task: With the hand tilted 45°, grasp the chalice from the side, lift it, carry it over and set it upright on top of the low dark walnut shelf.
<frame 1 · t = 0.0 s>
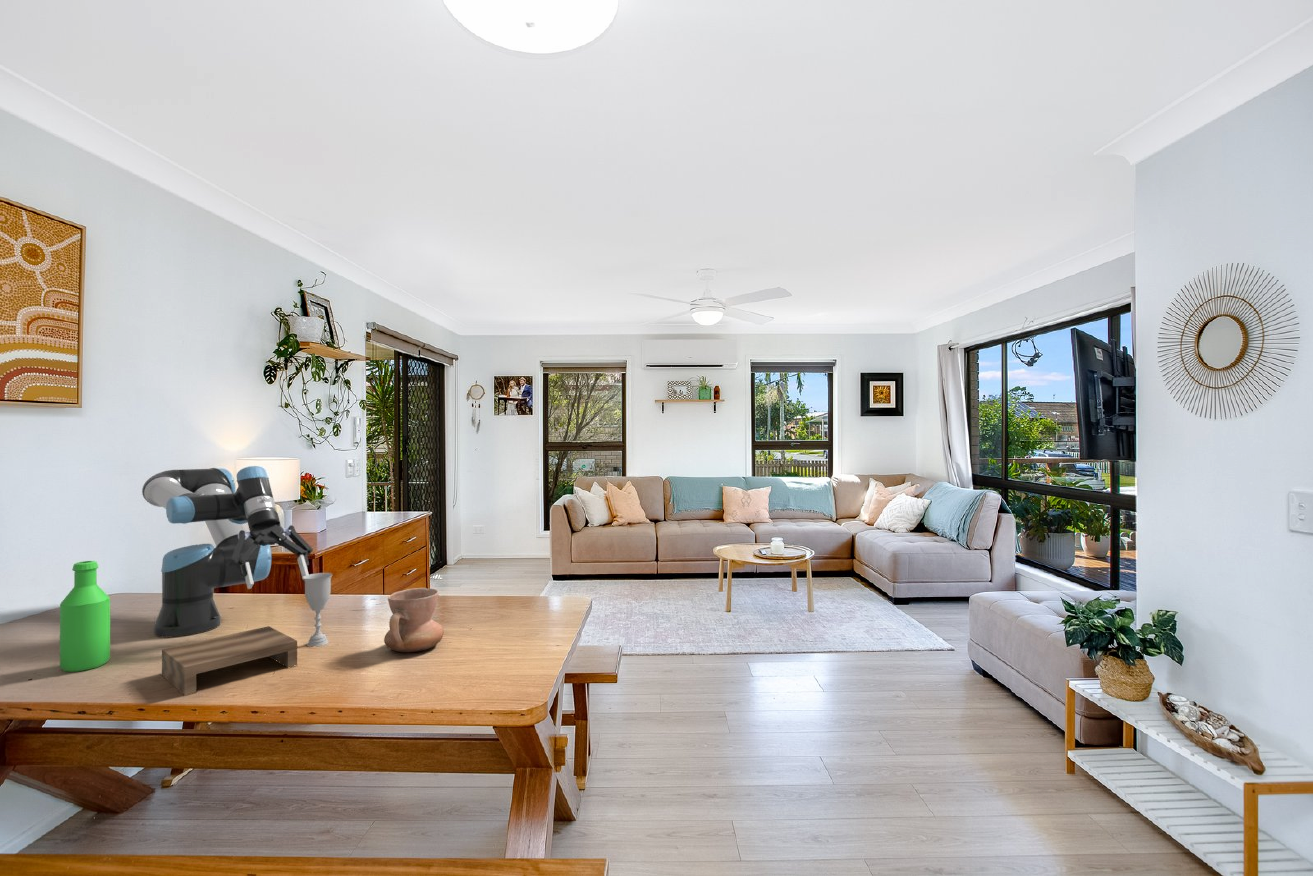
hand: (279, 581, 168), 15 cm above the table, tool tilted 35°, fingers open, 13 cm apart
walnut shelf: (230, 670, 144), on the table
chalice: (317, 644, 163), on the table
ceramic jug: (412, 648, 159), on the table
bottle: (85, 667, 147), on the table
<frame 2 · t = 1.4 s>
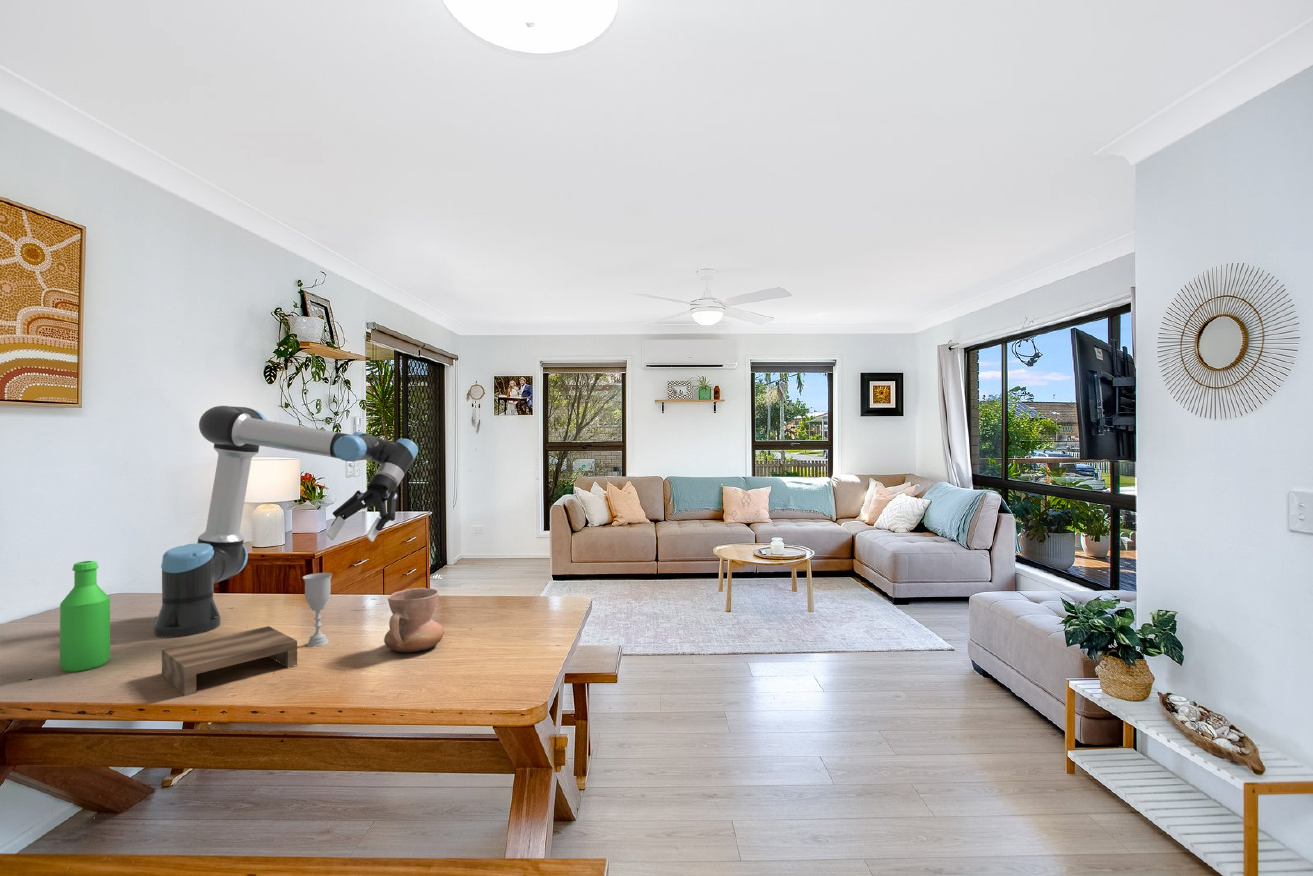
hand: (349, 538, 173), 26 cm above the table, tool tilted 45°, fingers open, 13 cm apart
nothing on the table moved.
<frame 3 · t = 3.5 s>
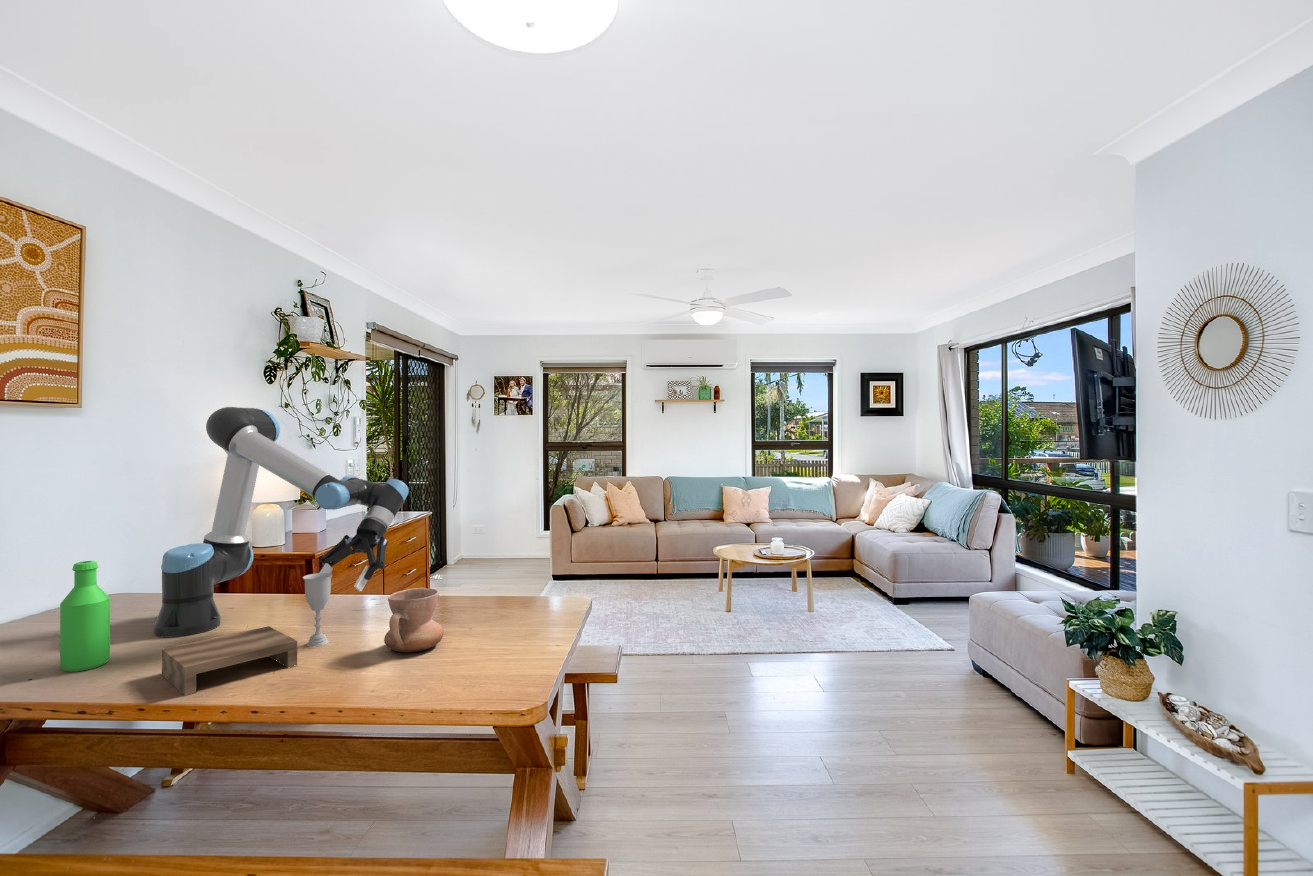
hand: (336, 587, 168), 14 cm above the table, tool tilted 45°, fingers open, 13 cm apart
nothing on the table moved.
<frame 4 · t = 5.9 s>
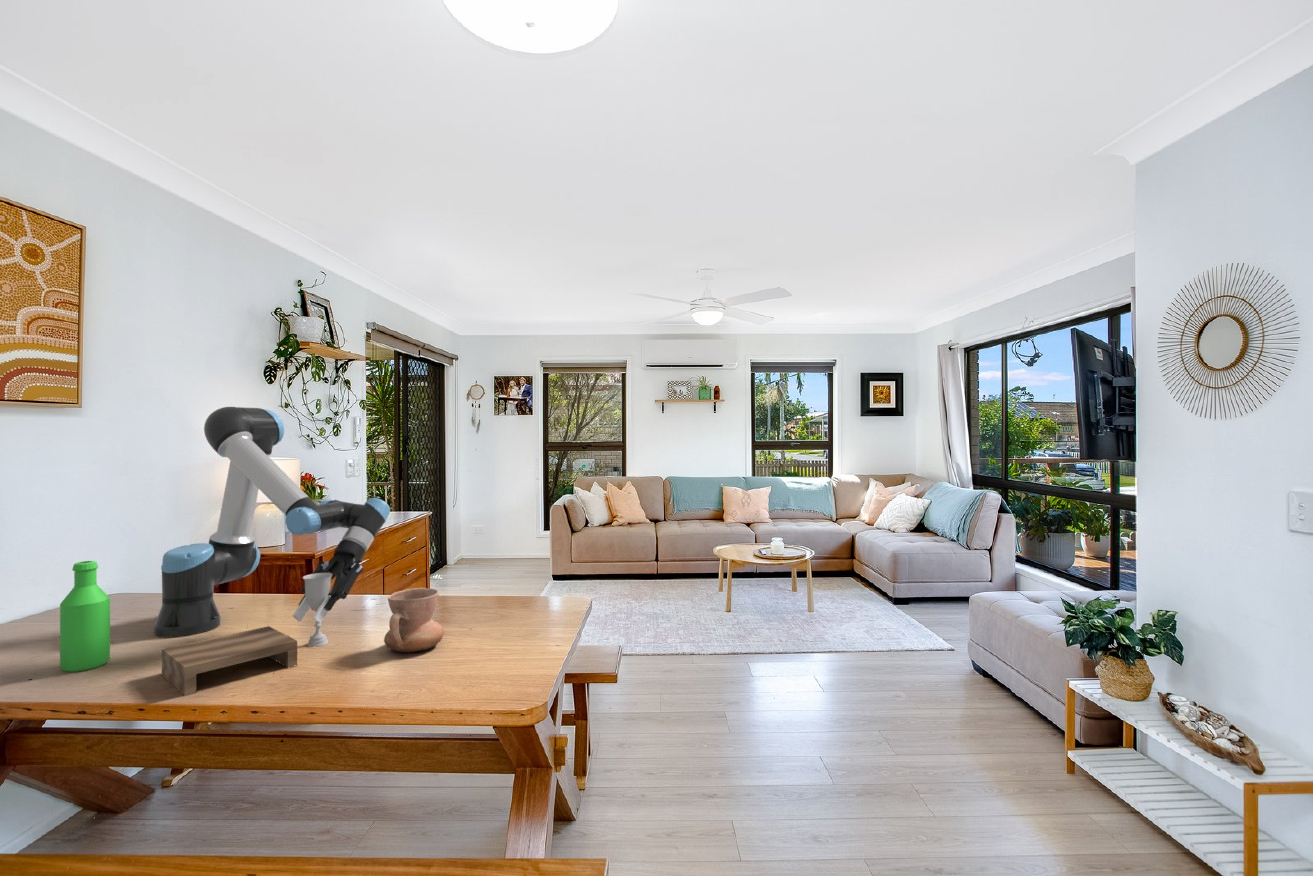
hand: (306, 619, 159), 7 cm above the table, tool tilted 45°, fingers closed on chalice, 6 cm apart
chalice: (317, 644, 163), on the table, touching gripper
everything else where it was.
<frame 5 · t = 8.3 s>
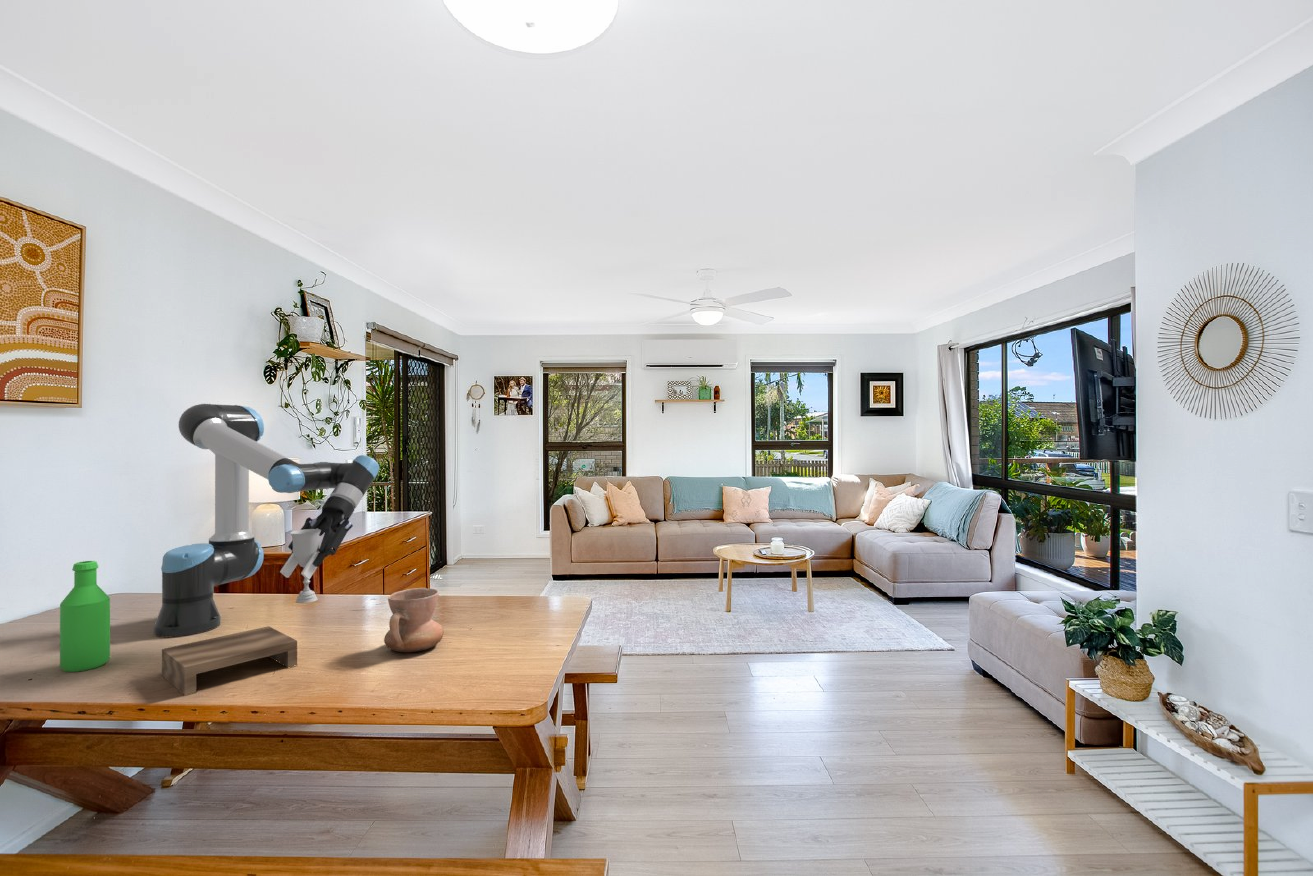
hand: (294, 575, 155), 20 cm above the table, tool tilted 45°, fingers closed on chalice, 6 cm apart
chalice: (306, 601, 159), point 12 cm above the table, touching gripper
everything else where it was.
when the fingers open (14 cm above the table, at t = 11.0 s): chalice stays where it is, resting on walnut shelf.
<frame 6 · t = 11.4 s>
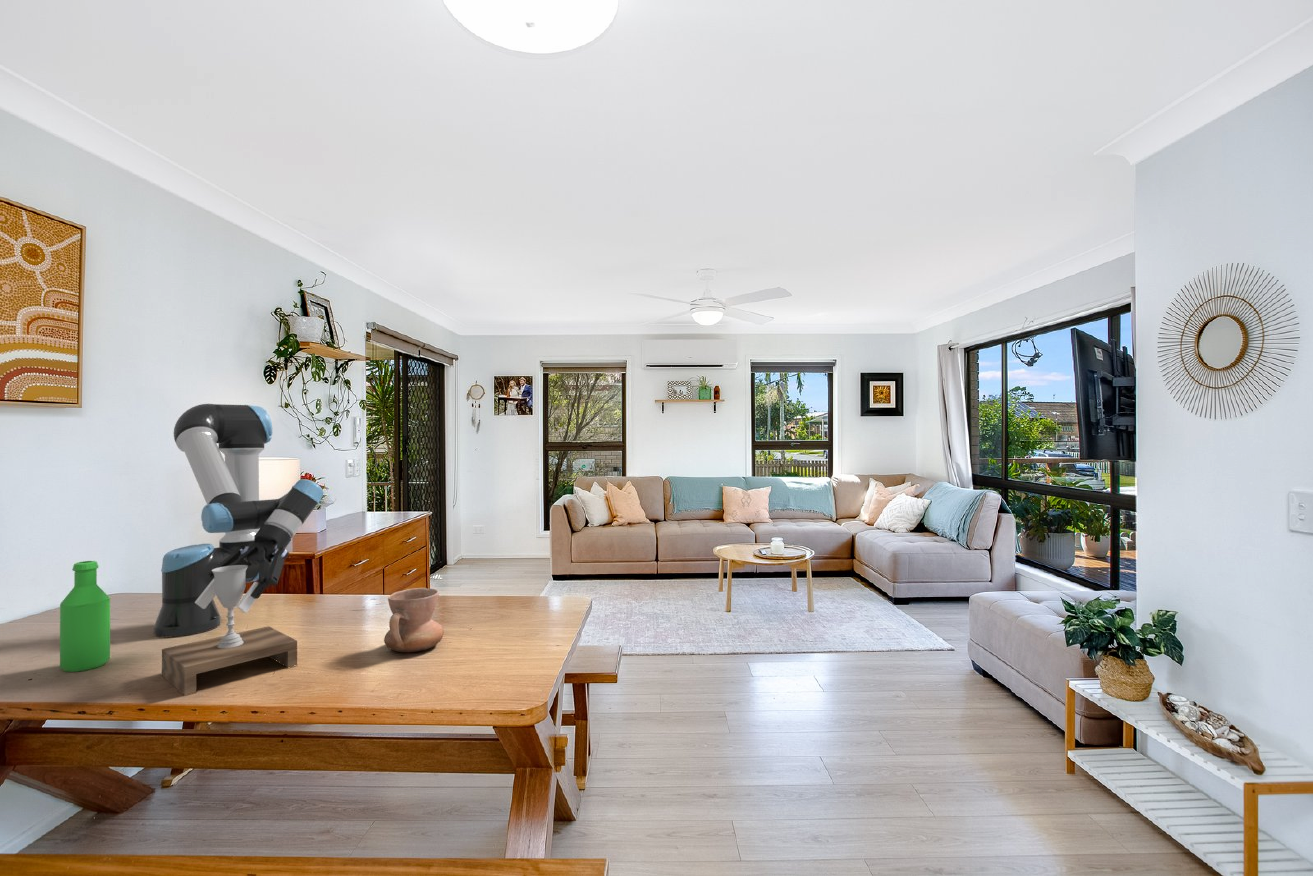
hand: (220, 607, 142), 15 cm above the table, tool tilted 45°, fingers open, 12 cm apart
chalice: (230, 645, 144), point 6 cm above the table, touching walnut shelf
everything else where it was.
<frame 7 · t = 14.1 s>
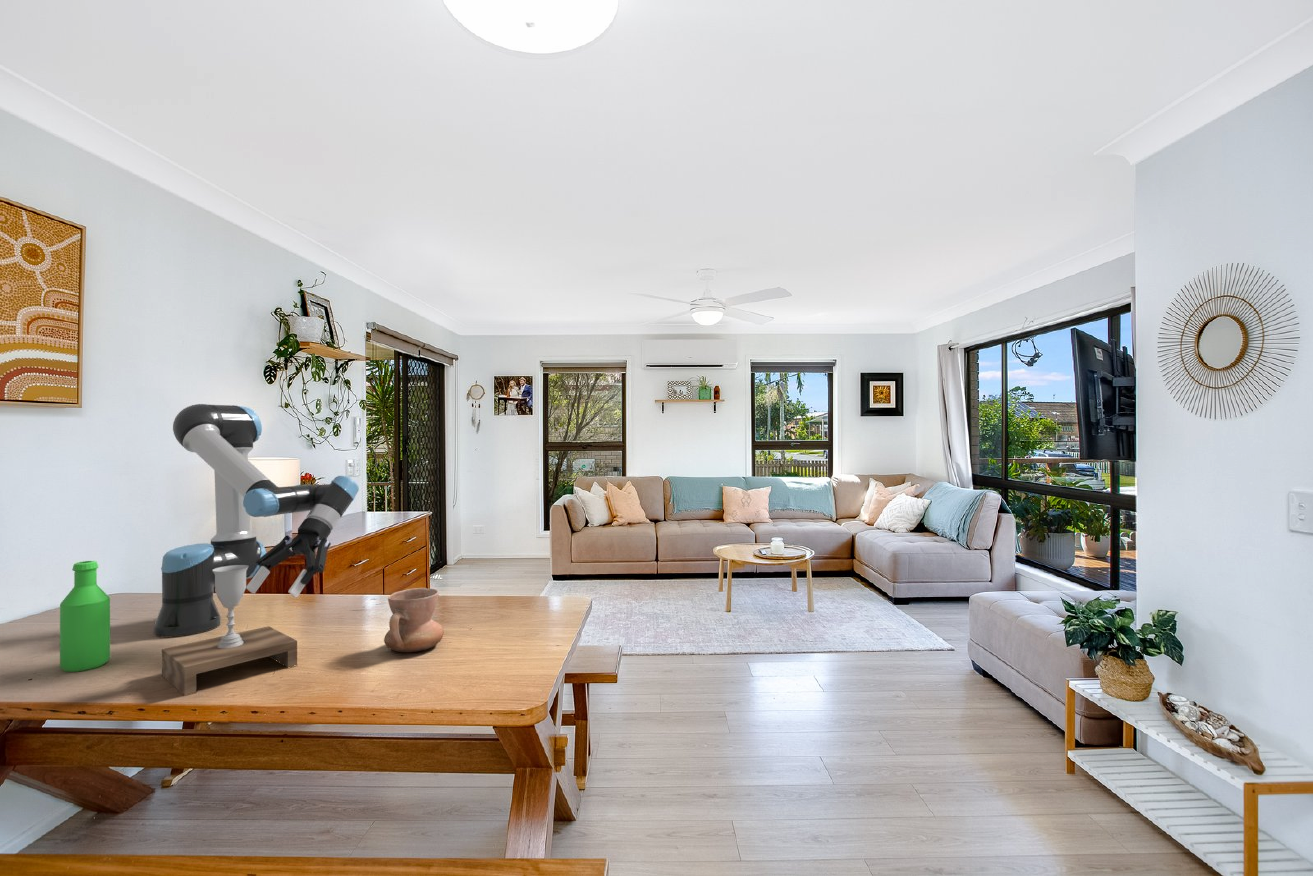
hand: (270, 592, 154), 16 cm above the table, tool tilted 45°, fingers open, 13 cm apart
nothing on the table moved.
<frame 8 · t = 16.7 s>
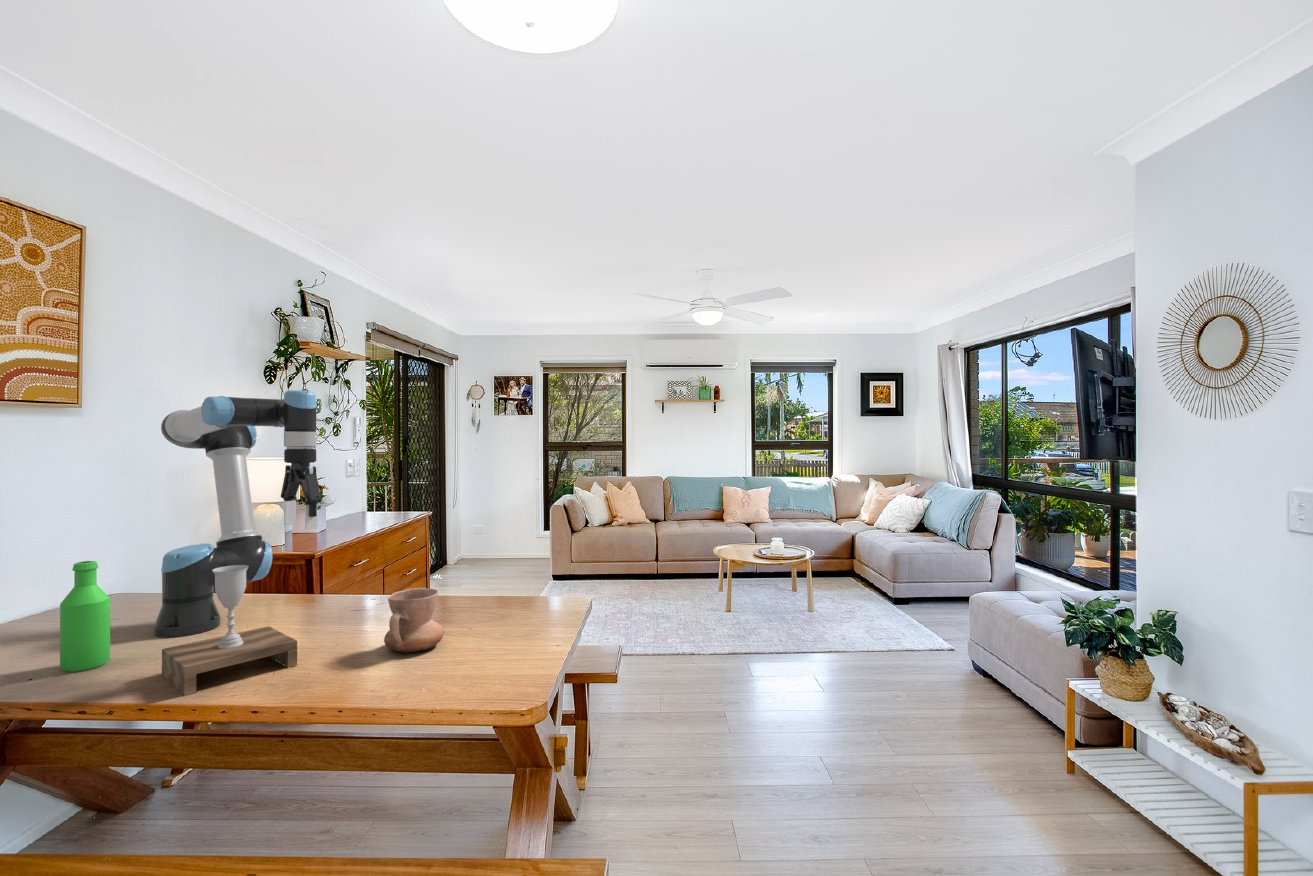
hand: (300, 526, 165), 31 cm above the table, tool pointing down, fingers open, 13 cm apart
nothing on the table moved.
at the end: chalice inside the target area on the walnut shelf (0.2 cm from its centre), point 5.8 cm above the walnut shelf's base; chalice tilted 0°; the gripper is holding nothing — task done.
